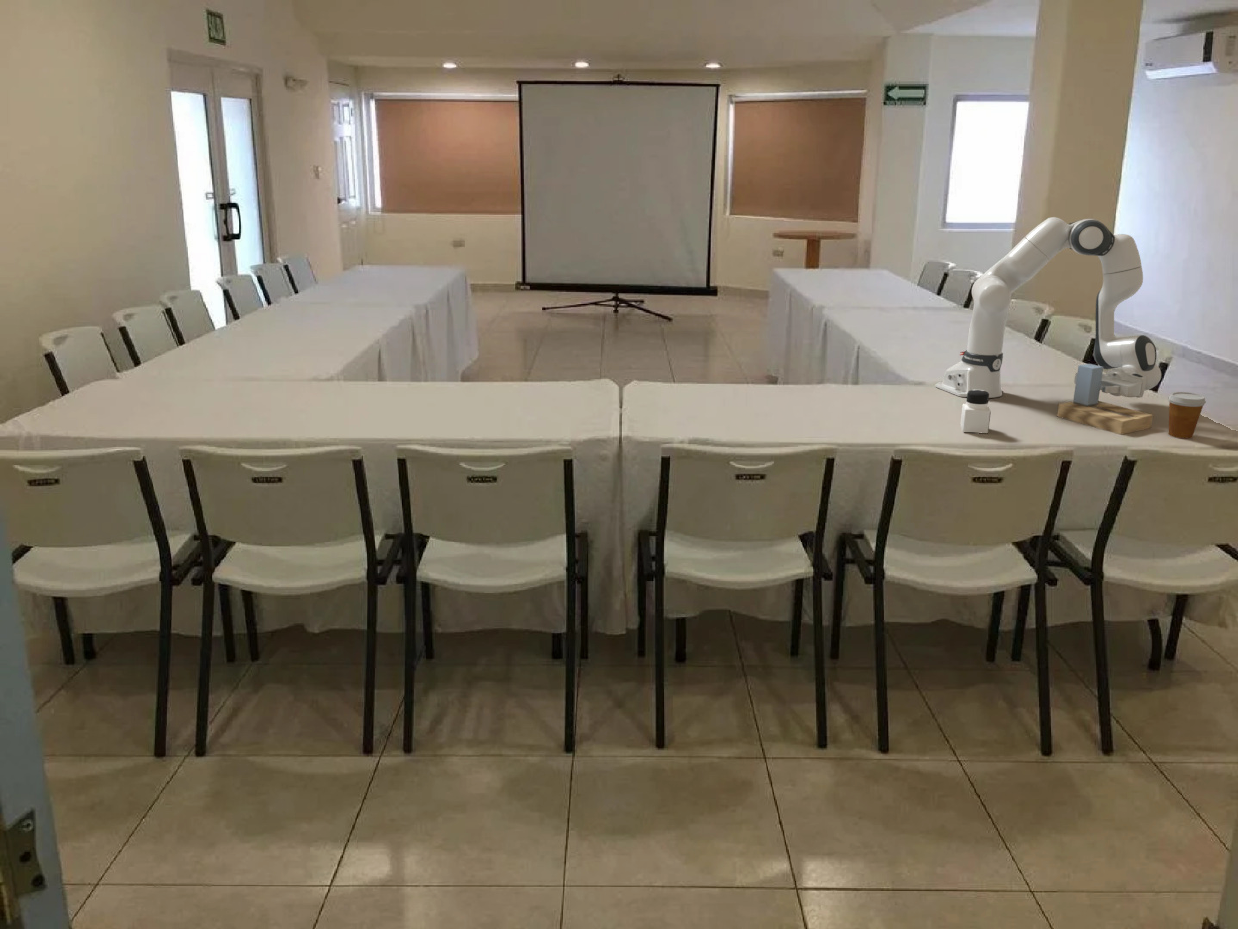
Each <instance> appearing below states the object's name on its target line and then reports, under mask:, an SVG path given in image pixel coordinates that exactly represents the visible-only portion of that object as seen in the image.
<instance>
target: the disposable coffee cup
mask: <svg viewBox="0 0 1238 929" xmlns="http://www.w3.org/2000/svg"><path fill="white" fill-rule="evenodd" d="M1205 398H1206V397H1205V396H1204V395H1202V394H1199V393H1194V392H1190V391H1189V392H1188V391H1186V392H1185V391H1175V392H1171V393H1170V395H1169V397H1168V402H1169V404H1168V405H1169V407H1168V430H1167V432H1168V433H1167V434H1168V436H1171V437H1174V438H1178V439H1192V438H1193V437H1194V434H1195V431H1196V427H1197V425H1198V422H1199V419H1200V416H1201V412H1202V410H1203V408H1204V406H1205V404H1206V403H1207V402H1206V399H1205Z"/></svg>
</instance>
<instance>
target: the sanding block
mask: <svg viewBox="0 0 1238 929" xmlns="http://www.w3.org/2000/svg"><path fill="white" fill-rule="evenodd" d="M1103 372H1104V368H1103V367H1102V366H1099V365H1098V364H1097V365H1096V364H1092V363H1085V364H1079V365H1078V367H1077V372H1076V373H1077V379H1076V384H1075V386H1074V394H1073V400H1072V402H1073V403H1074V404H1078V405H1081V406H1085V407H1089V406H1095V405H1098V401H1099V399H1100V393H1101V392H1100V391H1101V390H1100V386H1101V380H1102V374H1104V373H1103Z"/></svg>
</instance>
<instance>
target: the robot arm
mask: <svg viewBox="0 0 1238 929" xmlns="http://www.w3.org/2000/svg"><path fill="white" fill-rule="evenodd" d="M1137 246H1138V245H1137V244H1136V241H1135V239H1134V237H1133V236H1131V235H1129V234H1125V233H1119V234H1118V233H1117V234H1113V233H1112V232H1111V230H1110V229H1109V228H1108V227H1107V225H1105V224H1104V223H1103V222H1101V221H1100V220H1098V219H1096V218H1083V219H1080V220H1077V221H1074V222H1070V223H1067V222H1066V221H1065V220H1063V219H1062V218H1059V217H1057V216H1053V217H1052V216H1051V217H1047V219H1045V220H1043V221H1042V222H1041V223H1039V224H1038V225H1037V226H1035V227H1034V228H1033V229H1031V230H1030V231H1029V232H1028V233H1027V234H1026V235H1025V236H1024V237H1023V238H1022V239H1021V240H1020V241H1019V242H1018V243H1017V244H1016V245H1015V246H1014V247H1012V249H1011V250H1010V251H1009V252H1008V253H1007V254H1006V255H1005V256H1003V257H1002V258H1001V259H999V261H997V262H996V263H995V264H994V265H992V266H991V267H990V268H989V269H987V270H986V271H985V272H984V273H983V274H982V275H981V276H980V277H978V278H977V279H976V280H975V281H974V283H973V285H972V288H971V296H972V300H973V309H972V315H971V319H970V324H969V329H968V336H967V346H966V350H965V351H960V354H959V356H962V358H961V360H960V361H958V362H957V363H955V364H953V365H951V366H950V367H948V368H947V369H946V370H945V372H944V375H943V380H942V381H939V382H937V383H935V385H934V387H935V388H937V389H940V390H942V391H945V392H948V393H949V394H953V395H955V396H958V397H962V398H967V393H968V391H970V390H984V391H986V392H988V393H989V399H991V398H992V399H993V398H998V397H1002V395H1003V393H1002V385H1001V367H1002V364H1003V358H1004V353H1003V347H1004V346H1003V345H1004V336H1005V330H1006V325H1007V320H1008V317H1009V313H1010V312H1009V311H1010V307H1011V301H1012V294H1013V293H1014V292H1015V291H1016V290H1018V289H1019V288H1020V287H1021V286H1023V285H1025V284H1026V283H1027V282H1028V281H1030V280H1032V279H1033V278H1034V277H1035V276H1036V275H1037V274H1038V273H1039V272H1040V271H1041V270H1042V269H1043V268H1044V267H1045V266H1047V264H1048V263H1049V262H1050V261H1052V259H1053V258H1054V257H1055V256H1057V255H1058V254H1059V253H1060V252H1061V251H1063V250H1066V249H1070V250H1072V251H1073V252H1075V253H1076V254H1079V255H1082V256H1083V255H1084V256H1095V257H1097V258H1098V259H1099V261H1100V264H1101V270H1102V277H1103V278H1102V279H1103V280H1102V287H1101V289H1100V290H1099V291H1098V292H1097V294H1096V299H1095V340H1094V346H1093V358H1094V361H1095V362H1096V364H1097V365H1098V366H1102V367H1103V370H1108V371H1107V372H1106V374H1105V373H1103V374H1102V380H1101V386H1100V391H1101V392H1102V393H1103V394H1110V395H1112V396H1115V397H1121V396H1122V397H1126V398H1139V399H1140V398H1143V397H1144V394H1145V391H1148V390H1151V389H1154V387H1156V386H1157V385H1158V384H1159V382H1160V381H1161V379H1162V371H1161V369H1160V366H1158V365H1157V356H1158V355H1157V348H1156V345H1155V344H1154V342H1153V340H1152V339H1151V338H1150V337H1149V336H1147V335H1145V334H1144V335H1143V334H1141V335H1130V336H1120V337H1117V336H1115V311H1116V308H1117V307H1118V306H1119V305H1120V304H1121V303H1122V302H1124V301H1126V300H1128V299H1129V298H1131V297H1132V296H1134V295H1135V294H1136V293H1138V291H1139V290H1140V289H1141V287H1142V285H1143V281H1144V274H1143V272H1144V271H1143V267H1142V260H1141V256H1140V253H1139V249H1138V247H1137ZM1076 379H1077V372H1076V373H1075V375H1074V380H1073V381H1074V384H1075V385H1076Z"/></svg>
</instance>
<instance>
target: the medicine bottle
mask: <svg viewBox="0 0 1238 929" xmlns="http://www.w3.org/2000/svg"><path fill="white" fill-rule="evenodd" d="M989 399H990V398H989V393H988V392H986V391H984V390H970V391H968V393H967V397H966V403H962V406H961V407H962V408H961V416H960V424H959V425H960V429H961V431H962V430H963V431H962V433H963V432H979V433H980V432H982V433H988V434H989V428H990V422H991V421H990V420H991V409H990V408H989V407H990V406H989ZM979 433H978V434H979Z"/></svg>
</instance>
